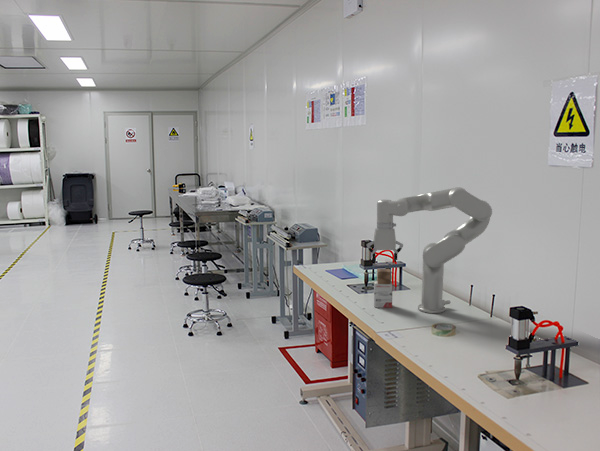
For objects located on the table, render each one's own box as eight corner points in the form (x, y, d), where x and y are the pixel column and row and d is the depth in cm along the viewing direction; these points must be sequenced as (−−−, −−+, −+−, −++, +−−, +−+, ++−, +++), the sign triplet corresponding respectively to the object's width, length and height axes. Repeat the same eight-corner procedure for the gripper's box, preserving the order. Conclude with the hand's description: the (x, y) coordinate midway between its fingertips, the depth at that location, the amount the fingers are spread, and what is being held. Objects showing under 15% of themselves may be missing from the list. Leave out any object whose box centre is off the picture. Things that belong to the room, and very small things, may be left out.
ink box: (391, 305, 261) (392, 281, 259) (392, 307, 256) (392, 283, 254) (373, 304, 262) (374, 280, 260) (373, 307, 257) (374, 283, 255)
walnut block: (389, 281, 260) (389, 268, 259) (390, 284, 254) (390, 271, 253) (376, 280, 260) (377, 268, 259) (377, 283, 254) (378, 271, 253)
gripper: (402, 224, 256) (402, 260, 258) (366, 225, 257) (366, 260, 260) (404, 227, 249) (404, 263, 251) (366, 227, 250) (366, 263, 252)
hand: (384, 261), depth 255 cm, fingers open, 9 cm apart
